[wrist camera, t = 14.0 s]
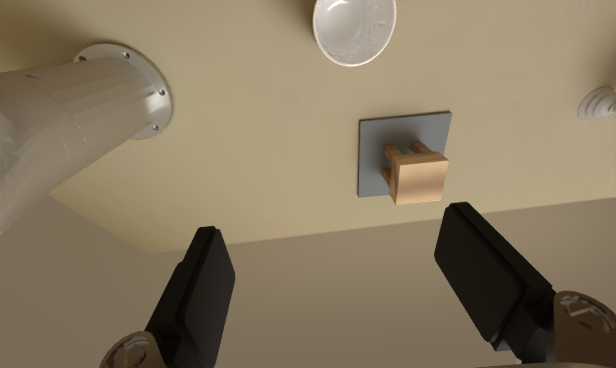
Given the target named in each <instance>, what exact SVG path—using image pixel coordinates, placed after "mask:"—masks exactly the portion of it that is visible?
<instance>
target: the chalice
mask: <svg viewBox="0 0 616 368" xmlns="http://www.w3.org/2000/svg"><path fill="white" fill-rule="evenodd" d="M615 113H616V92H614V91H613V90H612V89H610V88H608V87H603V88H599V89H596V90H595V91H593V92H591V93H590V94H589V95H587V96H586V97H585V98H584V100H583V101H582V102H581V104H580V106H579V109H578V116H579V117H580V118H581V119H583V120H591V119H593V120H596V119H604V118H608V117H610V116H612V115H614V114H615Z"/></svg>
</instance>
